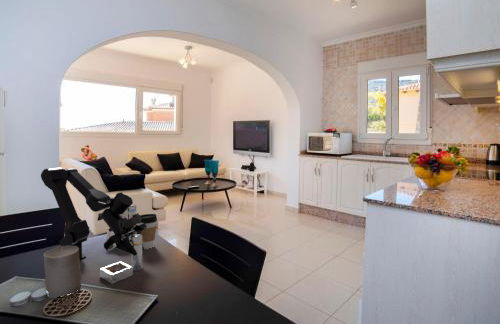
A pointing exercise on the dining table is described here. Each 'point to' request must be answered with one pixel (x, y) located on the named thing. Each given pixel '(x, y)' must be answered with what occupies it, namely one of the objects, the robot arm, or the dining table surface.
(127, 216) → the candy bar box
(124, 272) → the white square flat box
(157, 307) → the dining table surface
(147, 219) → the coffee cup
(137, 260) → the tube
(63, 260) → the pillar candle
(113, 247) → the white knot sculpture
